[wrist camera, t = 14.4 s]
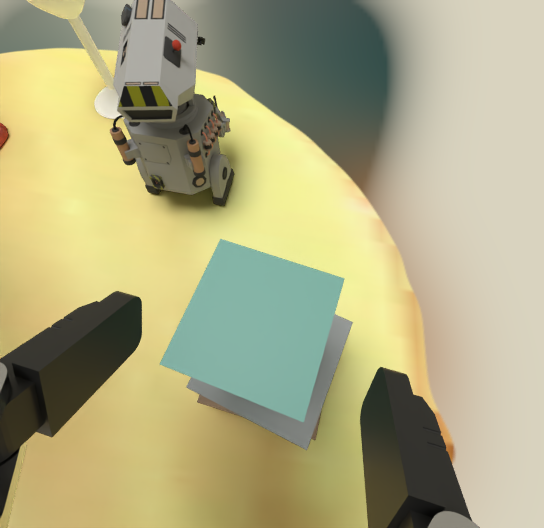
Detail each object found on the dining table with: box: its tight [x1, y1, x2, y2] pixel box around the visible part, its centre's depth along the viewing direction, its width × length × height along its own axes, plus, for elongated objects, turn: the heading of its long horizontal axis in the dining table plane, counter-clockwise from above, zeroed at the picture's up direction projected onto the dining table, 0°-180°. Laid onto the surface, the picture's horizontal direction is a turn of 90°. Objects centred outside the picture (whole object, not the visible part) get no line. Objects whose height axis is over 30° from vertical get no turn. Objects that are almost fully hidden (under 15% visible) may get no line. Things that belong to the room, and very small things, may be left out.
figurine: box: [110, 0, 234, 206], centre depth 28 cm, size 9×12×15 cm
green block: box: [160, 239, 344, 423], centre depth 14 cm, size 5×5×10 cm
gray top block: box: [187, 314, 353, 450], centre depth 21 cm, size 8×8×4 cm
